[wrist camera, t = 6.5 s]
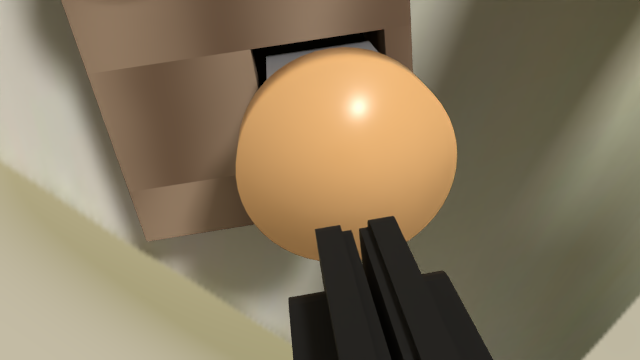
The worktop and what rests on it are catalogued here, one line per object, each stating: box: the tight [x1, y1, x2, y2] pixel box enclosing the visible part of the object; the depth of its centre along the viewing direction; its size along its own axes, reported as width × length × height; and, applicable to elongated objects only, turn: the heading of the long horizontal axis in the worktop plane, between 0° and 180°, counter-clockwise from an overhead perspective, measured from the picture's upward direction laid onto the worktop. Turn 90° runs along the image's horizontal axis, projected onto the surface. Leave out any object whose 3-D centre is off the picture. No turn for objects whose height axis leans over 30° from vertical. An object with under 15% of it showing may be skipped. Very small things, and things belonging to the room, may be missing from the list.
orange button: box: [236, 41, 457, 261], centre depth 17 cm, size 6×6×7 cm
